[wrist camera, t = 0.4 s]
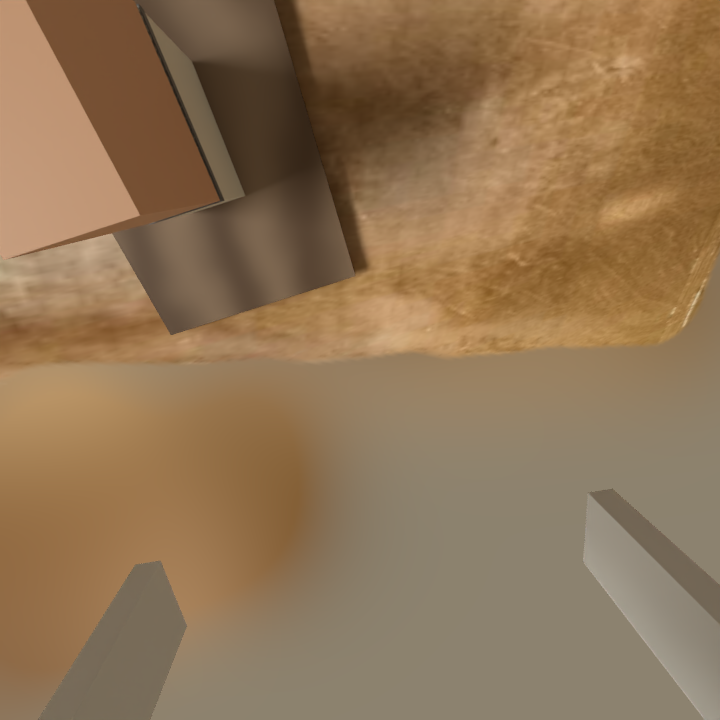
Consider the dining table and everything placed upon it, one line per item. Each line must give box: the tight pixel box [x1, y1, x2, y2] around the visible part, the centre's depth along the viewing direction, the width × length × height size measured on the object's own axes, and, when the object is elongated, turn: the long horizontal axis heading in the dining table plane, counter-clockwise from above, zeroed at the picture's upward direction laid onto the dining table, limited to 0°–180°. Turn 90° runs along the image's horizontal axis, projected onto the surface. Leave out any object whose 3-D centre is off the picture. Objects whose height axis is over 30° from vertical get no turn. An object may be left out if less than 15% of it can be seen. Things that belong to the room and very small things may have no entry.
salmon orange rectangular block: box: [0, 0, 220, 260], centre depth 13 cm, size 4×8×10 cm, turn 16°
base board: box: [112, 0, 355, 335], centre depth 25 cm, size 16×24×2 cm, turn 16°
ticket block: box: [136, 4, 245, 225], centre depth 21 cm, size 4×8×8 cm, turn 16°
